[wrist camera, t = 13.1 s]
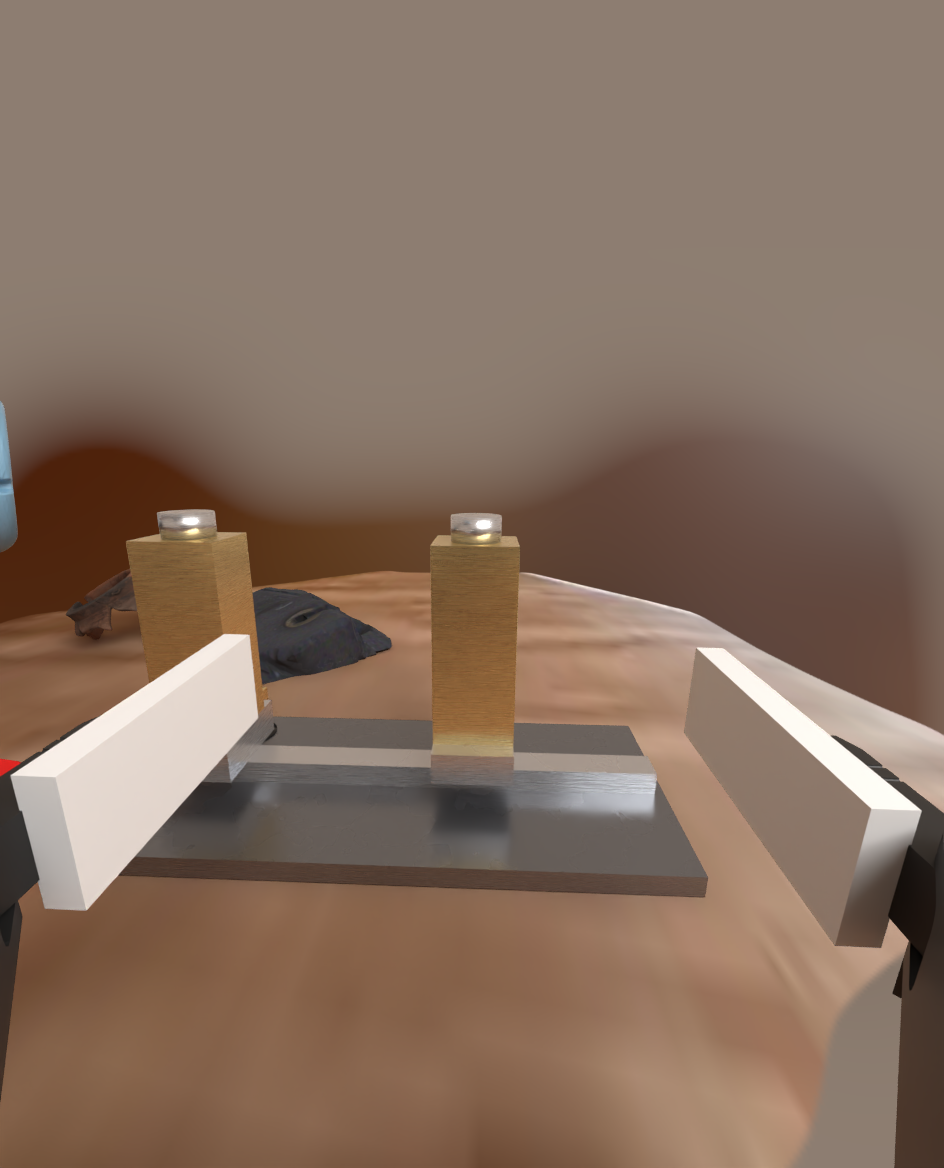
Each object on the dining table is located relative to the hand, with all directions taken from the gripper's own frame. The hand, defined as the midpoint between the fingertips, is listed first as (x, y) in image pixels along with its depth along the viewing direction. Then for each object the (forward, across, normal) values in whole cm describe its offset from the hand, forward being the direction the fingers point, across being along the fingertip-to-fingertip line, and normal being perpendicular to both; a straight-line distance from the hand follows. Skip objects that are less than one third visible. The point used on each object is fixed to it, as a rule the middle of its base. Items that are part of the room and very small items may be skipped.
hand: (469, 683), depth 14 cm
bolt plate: (+10, -3, -12) cm, 15 cm away
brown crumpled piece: (+33, -35, -12) cm, 50 cm away
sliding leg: (+11, 0, -10) cm, 15 cm away
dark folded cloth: (+34, -20, -13) cm, 41 cm away
